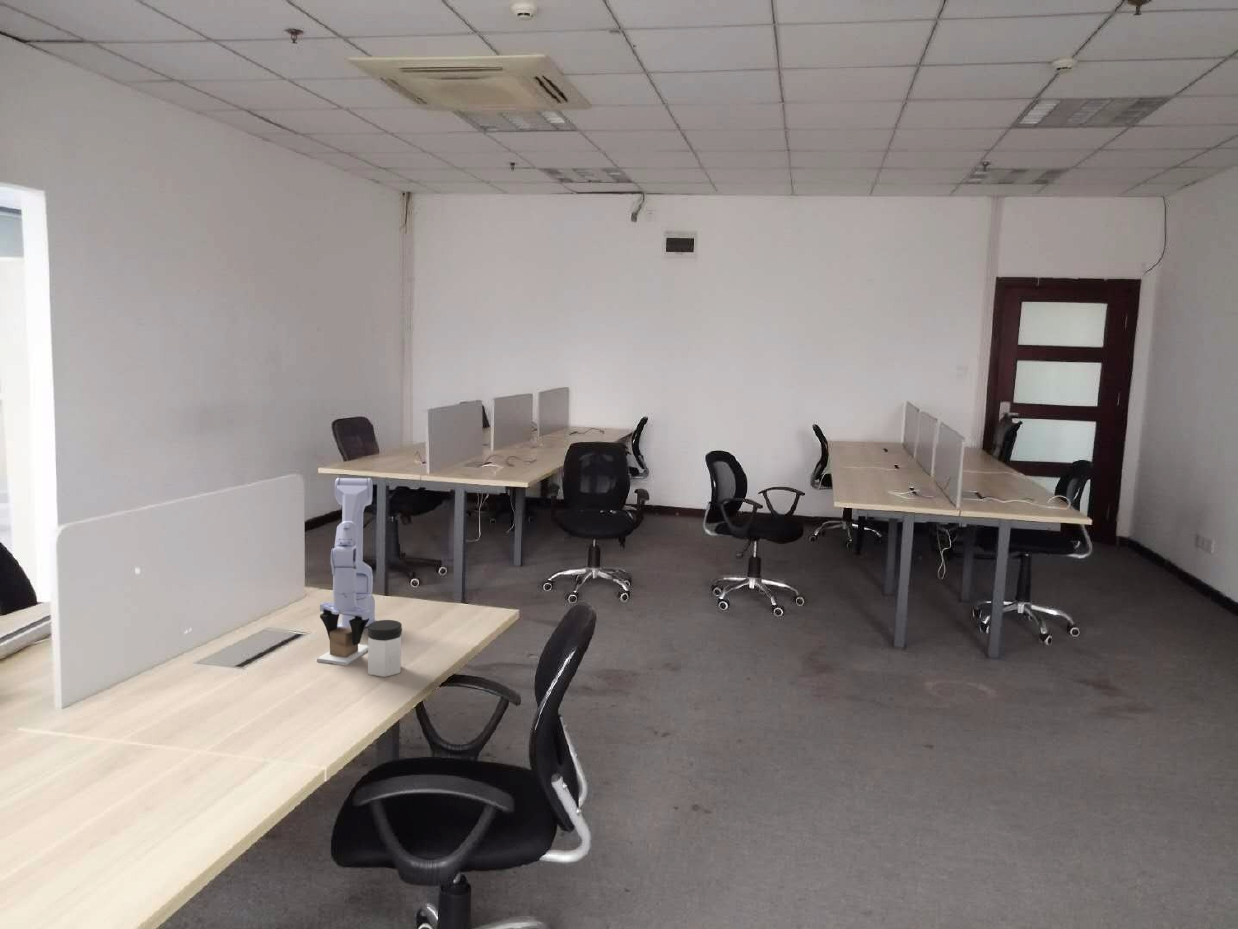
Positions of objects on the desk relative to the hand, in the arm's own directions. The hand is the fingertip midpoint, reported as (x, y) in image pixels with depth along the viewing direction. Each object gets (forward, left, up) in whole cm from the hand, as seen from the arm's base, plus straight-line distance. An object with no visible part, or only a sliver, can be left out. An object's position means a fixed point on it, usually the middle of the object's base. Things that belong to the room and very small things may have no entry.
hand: (344, 641), depth 218 cm
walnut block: (0, 0, -3) cm, 3 cm away
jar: (+3, +15, -4) cm, 16 cm away
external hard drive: (0, 0, -5) cm, 5 cm away
